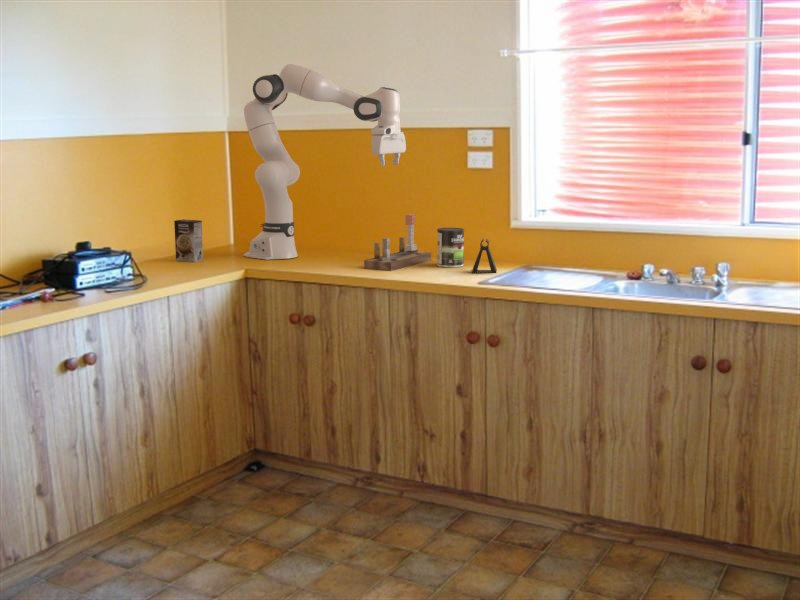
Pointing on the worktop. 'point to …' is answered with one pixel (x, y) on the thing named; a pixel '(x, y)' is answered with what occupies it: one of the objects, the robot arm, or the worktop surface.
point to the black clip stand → (490, 259)
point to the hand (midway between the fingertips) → (389, 165)
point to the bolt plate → (395, 256)
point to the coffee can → (450, 247)
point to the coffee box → (188, 240)
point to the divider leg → (410, 231)
